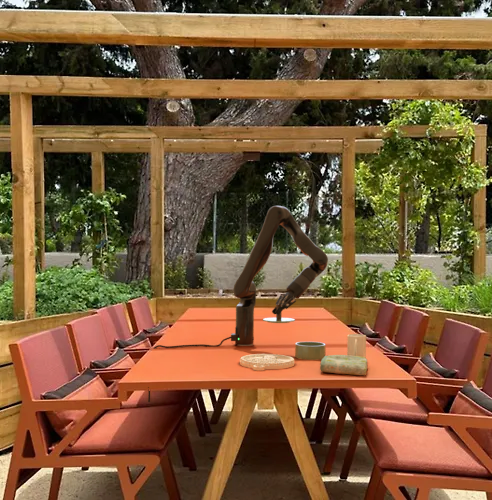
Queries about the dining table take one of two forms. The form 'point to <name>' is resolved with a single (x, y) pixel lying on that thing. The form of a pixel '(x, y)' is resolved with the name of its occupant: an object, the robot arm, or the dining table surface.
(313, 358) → the bowl
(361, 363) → the towel
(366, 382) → the dining table surface
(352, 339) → the mug
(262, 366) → the medallion
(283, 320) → the lid
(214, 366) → the dining table surface
